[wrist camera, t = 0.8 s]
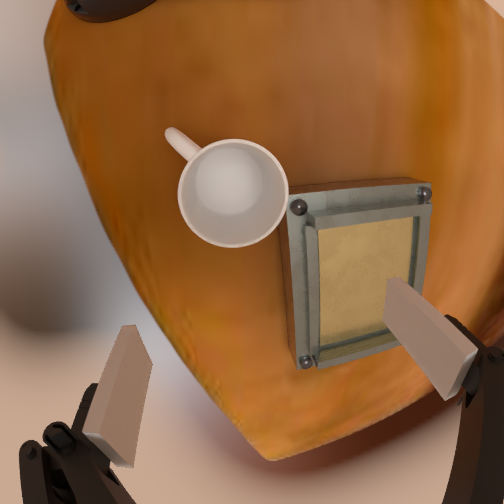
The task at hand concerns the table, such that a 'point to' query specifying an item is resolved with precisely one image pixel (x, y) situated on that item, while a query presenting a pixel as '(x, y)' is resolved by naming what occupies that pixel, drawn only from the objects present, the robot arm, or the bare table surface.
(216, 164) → the cup
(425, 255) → the silver and gold block
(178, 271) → the table surface
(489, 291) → the table surface
